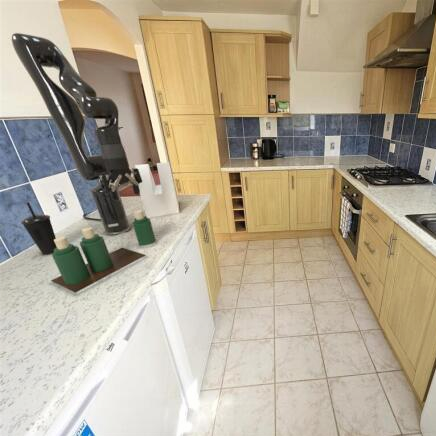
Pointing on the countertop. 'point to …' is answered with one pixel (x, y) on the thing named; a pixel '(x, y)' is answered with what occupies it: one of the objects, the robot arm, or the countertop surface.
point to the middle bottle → (95, 251)
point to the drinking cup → (40, 231)
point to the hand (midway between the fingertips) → (127, 197)
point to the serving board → (119, 261)
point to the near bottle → (69, 262)
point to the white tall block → (158, 191)
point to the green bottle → (143, 229)
